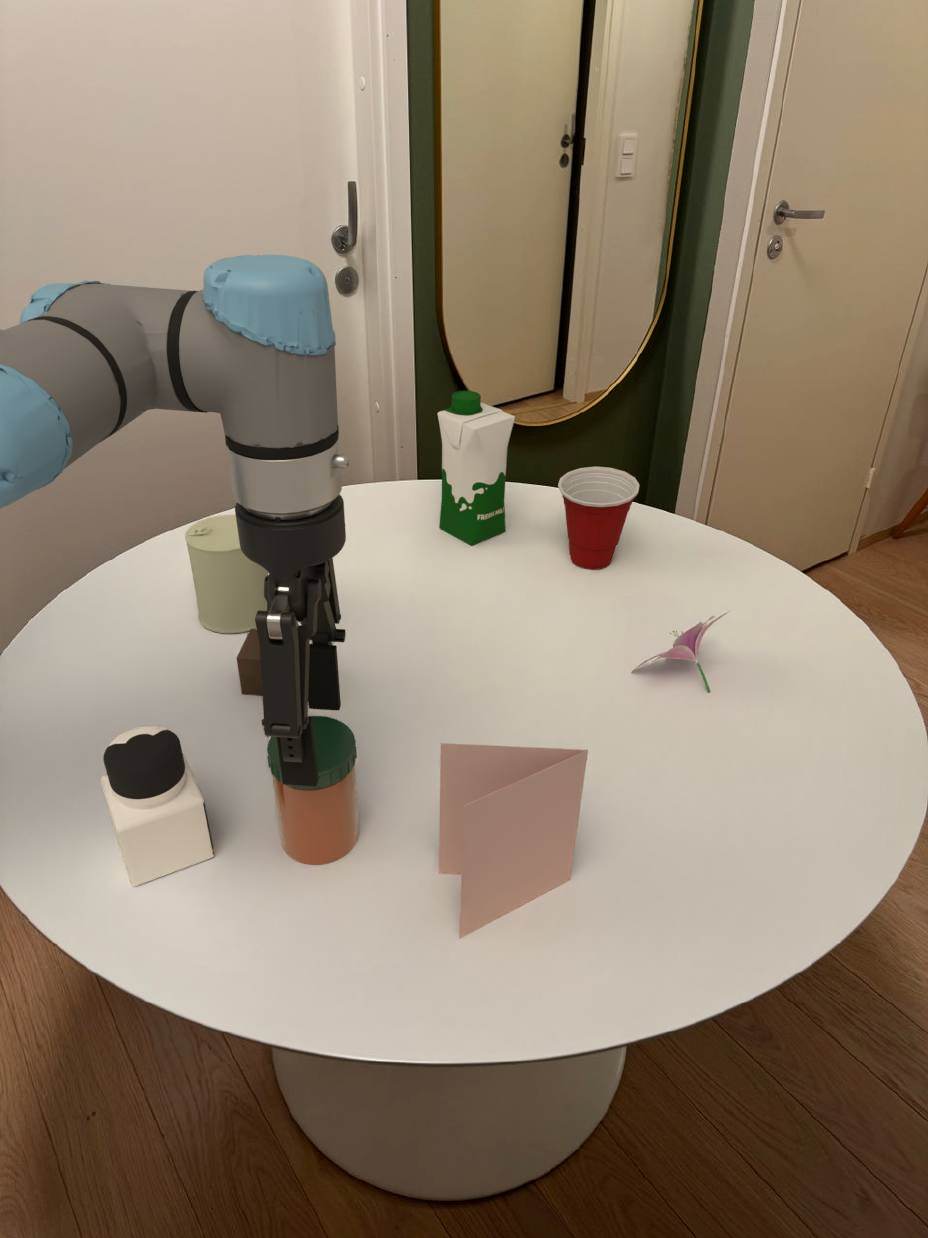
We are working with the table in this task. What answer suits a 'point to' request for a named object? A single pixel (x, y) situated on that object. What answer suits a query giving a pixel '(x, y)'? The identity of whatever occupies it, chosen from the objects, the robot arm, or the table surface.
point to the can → (224, 576)
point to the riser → (250, 665)
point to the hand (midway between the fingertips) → (313, 742)
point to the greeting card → (507, 824)
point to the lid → (323, 752)
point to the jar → (318, 820)
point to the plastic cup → (596, 512)
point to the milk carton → (473, 467)
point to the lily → (687, 645)
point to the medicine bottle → (154, 804)
